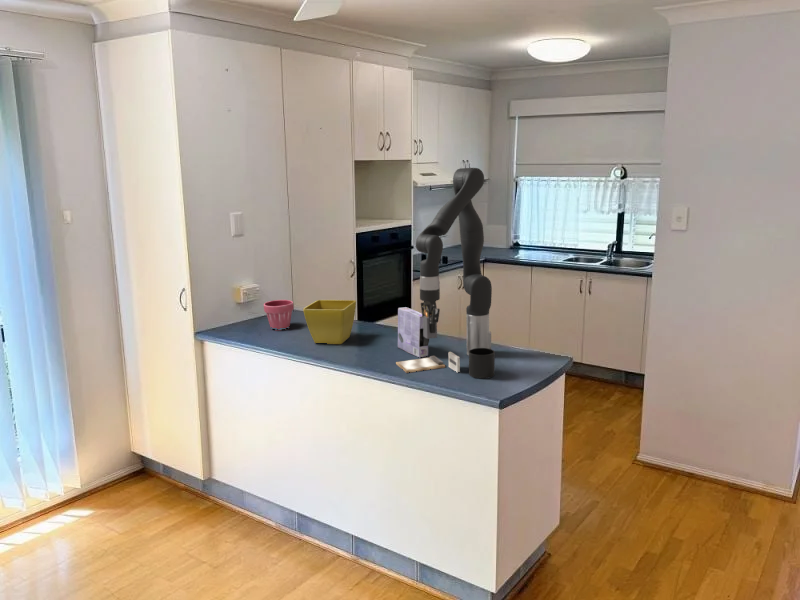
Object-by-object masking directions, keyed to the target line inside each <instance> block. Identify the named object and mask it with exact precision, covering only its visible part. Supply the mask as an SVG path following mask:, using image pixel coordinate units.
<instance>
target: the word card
mask: <svg viewBox="0 0 800 600" xmlns="http://www.w3.org/2000/svg"><path fill="white" fill-rule="evenodd" d="M460 358H461V357H460V356H459V355H457V354H455V353H454V352H452V351H448V368H450V369H451V370H452V371H453V372H455V371H456V372H455V373H457V374H458V372H460V373H461V370H460V369H461V366H460V364H461V361H460Z"/></svg>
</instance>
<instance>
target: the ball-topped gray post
mask: <svg viewBox="0 0 800 600" xmlns="http://www.w3.org/2000/svg"><path fill="white" fill-rule="evenodd" d="M430 315H432V314H430ZM431 318H432V317H431ZM429 324H430V323H429V318H428V317H427V312H426V316H423V336H424V337H425V338H427V339H429V340H430V339H436V338H438V323H435V327H436V332H435V333H430V326H429Z"/></svg>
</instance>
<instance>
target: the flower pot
mask: <svg viewBox="0 0 800 600" xmlns="http://www.w3.org/2000/svg"><path fill="white" fill-rule="evenodd" d="M356 308H357V300H352V299H350V300H349V299H317V300H316V301H313V302H312V303H310V304H309V305H307V306H305V307H304V308H303V309H302V311H303V314H304V315H303V316H304V319H305V322H306V325H307V328H308V330H309V334H310V335H311V337H312V340H313V342H314V344H316V343H327V344H326V345H342V344H343V343H345V342H346V340H348V339H349V338H350V336H351V333H352V330H353V325H354V321H355V316H356V315H355V314H356Z"/></svg>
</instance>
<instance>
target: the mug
mask: <svg viewBox="0 0 800 600" xmlns="http://www.w3.org/2000/svg"><path fill="white" fill-rule="evenodd" d="M495 354H496V353H495V350H494V349H492V348H491V349H488V348H475V349H471V350H470V351H469V356H468V374H469V376H470V377H471V378H474V379H483V380H484V379H489V378H493V377H494V376H495V371H496V370H495V366H496V365H495V364H496V362H495V361H496V360H495V356H496V355H495Z"/></svg>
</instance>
